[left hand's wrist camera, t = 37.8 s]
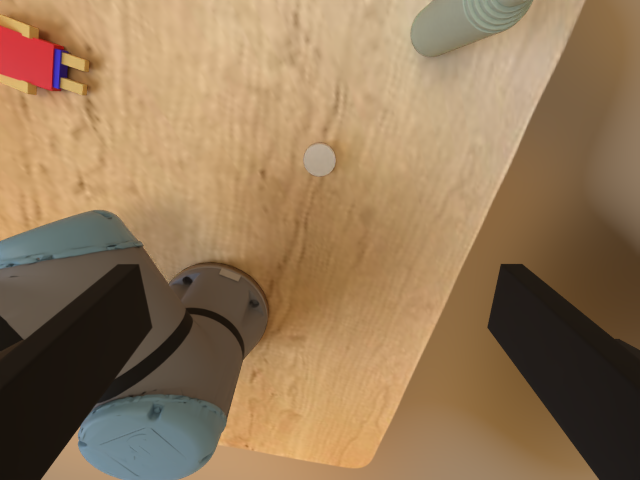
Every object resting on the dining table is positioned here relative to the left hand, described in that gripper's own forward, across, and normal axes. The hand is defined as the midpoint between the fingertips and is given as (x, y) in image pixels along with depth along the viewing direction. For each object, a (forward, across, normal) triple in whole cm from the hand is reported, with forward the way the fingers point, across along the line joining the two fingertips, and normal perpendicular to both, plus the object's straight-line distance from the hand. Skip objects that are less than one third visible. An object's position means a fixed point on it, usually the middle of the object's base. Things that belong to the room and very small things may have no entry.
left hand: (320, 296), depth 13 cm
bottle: (+33, +12, +14) cm, 38 cm away
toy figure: (+33, -32, +11) cm, 47 cm away
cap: (+31, 0, 0) cm, 31 cm away
